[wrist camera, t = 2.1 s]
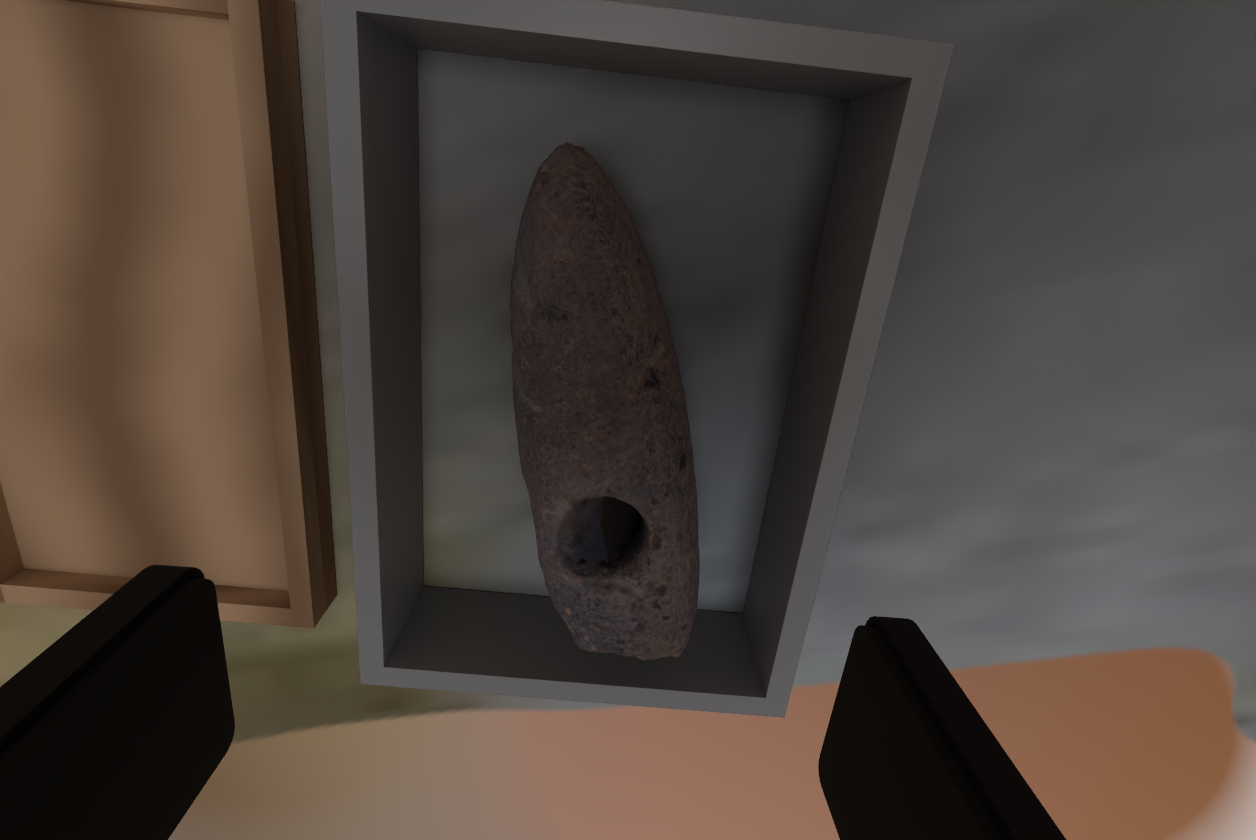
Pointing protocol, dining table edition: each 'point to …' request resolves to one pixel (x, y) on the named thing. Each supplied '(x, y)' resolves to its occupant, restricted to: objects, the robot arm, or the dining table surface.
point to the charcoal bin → (391, 333)
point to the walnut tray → (159, 307)
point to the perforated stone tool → (602, 418)
